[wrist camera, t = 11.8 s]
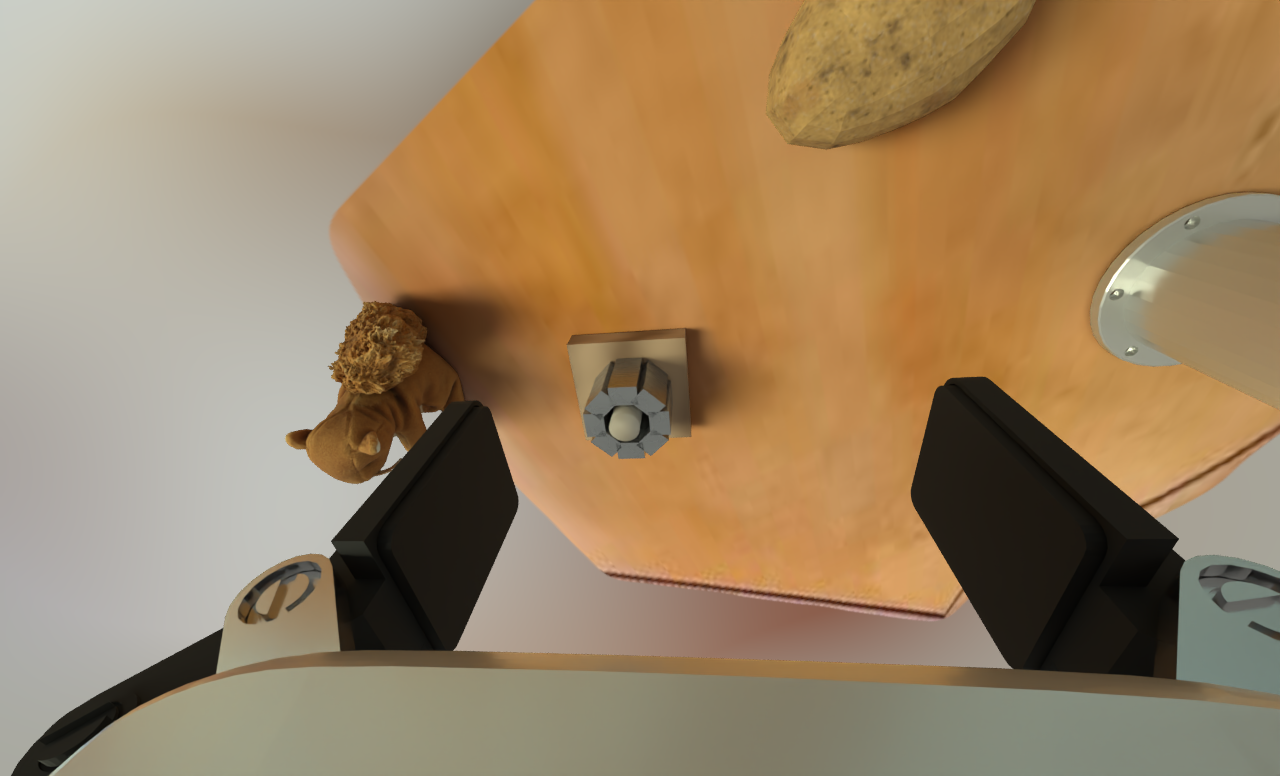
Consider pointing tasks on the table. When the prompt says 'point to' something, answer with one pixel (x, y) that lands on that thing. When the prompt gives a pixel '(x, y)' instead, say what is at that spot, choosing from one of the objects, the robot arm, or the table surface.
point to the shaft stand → (654, 345)
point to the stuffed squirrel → (378, 394)
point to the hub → (630, 387)
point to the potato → (880, 63)
